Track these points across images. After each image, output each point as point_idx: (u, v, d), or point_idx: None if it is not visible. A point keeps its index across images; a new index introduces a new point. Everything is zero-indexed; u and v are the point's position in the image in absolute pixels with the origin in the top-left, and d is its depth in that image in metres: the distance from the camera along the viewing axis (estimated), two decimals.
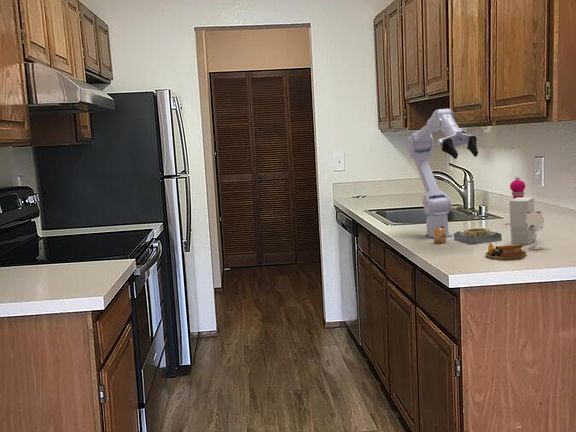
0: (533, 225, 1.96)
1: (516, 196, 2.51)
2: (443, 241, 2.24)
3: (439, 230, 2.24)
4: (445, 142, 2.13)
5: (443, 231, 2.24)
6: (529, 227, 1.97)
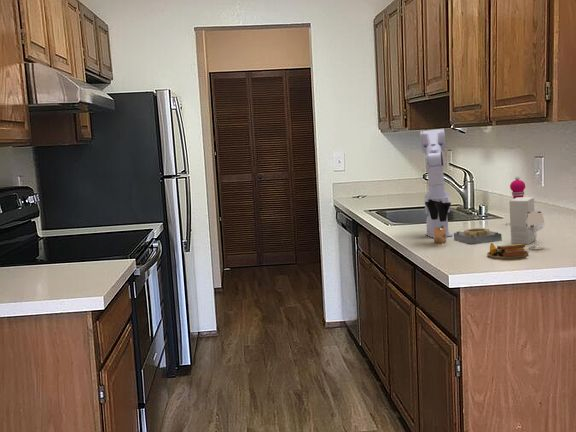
0: (533, 225, 1.96)
1: (516, 196, 2.51)
2: (443, 241, 2.24)
3: (439, 230, 2.24)
4: None
5: (443, 231, 2.24)
6: (529, 227, 1.97)
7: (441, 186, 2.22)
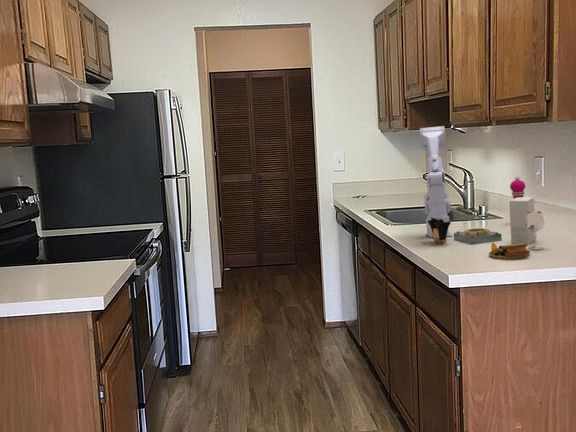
0: (533, 225, 1.96)
1: (516, 196, 2.51)
2: (443, 241, 2.24)
3: None
4: None
5: None
6: (529, 227, 1.97)
7: (442, 205, 2.22)
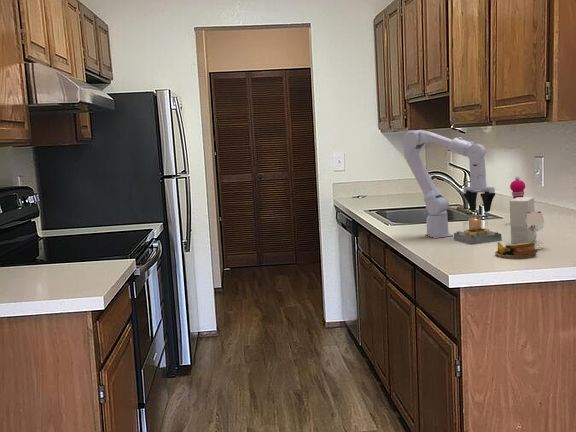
0: (533, 225, 1.96)
1: (516, 196, 2.51)
2: None
3: (474, 221, 2.22)
4: None
5: (478, 222, 2.22)
6: (529, 227, 1.97)
7: (484, 177, 2.27)
